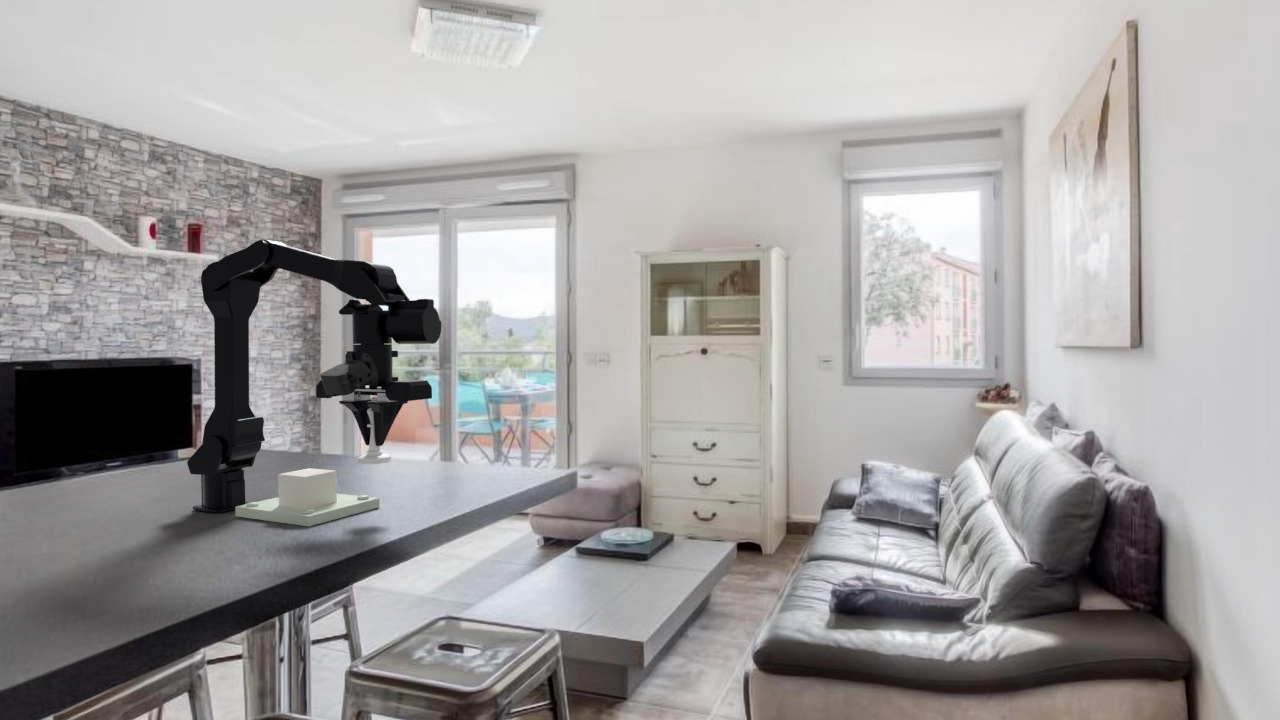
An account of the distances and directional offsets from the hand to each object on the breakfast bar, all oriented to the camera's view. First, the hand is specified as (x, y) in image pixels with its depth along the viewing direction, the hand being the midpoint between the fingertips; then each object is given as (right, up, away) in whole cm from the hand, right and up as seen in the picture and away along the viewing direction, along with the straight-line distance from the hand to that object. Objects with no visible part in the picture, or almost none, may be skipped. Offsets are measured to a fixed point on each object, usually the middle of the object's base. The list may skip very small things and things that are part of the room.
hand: (374, 445), depth 120 cm
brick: (-11, -10, +2) cm, 15 cm away
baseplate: (-12, -11, +4) cm, 16 cm away
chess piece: (0, -3, 0) cm, 3 cm away
